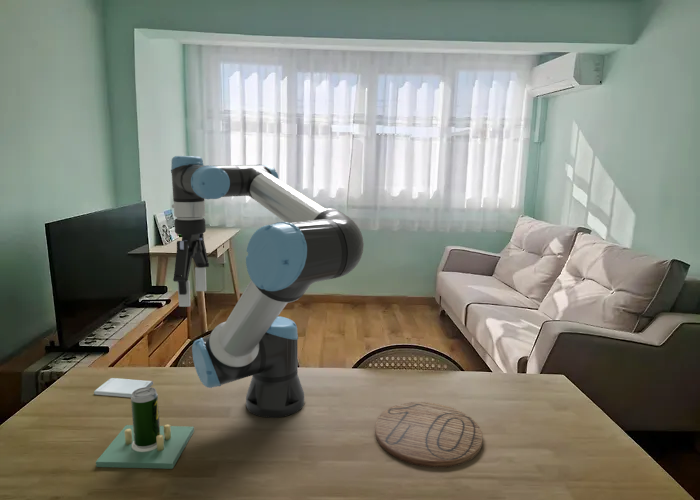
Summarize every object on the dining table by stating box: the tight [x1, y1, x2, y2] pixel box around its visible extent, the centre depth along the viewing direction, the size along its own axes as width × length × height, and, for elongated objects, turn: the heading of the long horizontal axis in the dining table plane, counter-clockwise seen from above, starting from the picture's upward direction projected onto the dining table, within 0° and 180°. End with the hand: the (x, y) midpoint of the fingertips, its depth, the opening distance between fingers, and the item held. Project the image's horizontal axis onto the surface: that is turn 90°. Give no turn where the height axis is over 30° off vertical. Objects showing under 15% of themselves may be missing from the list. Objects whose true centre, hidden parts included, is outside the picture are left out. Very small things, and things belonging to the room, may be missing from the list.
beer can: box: [130, 386, 161, 449], centre depth 109 cm, size 5×5×12 cm
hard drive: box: [93, 377, 154, 398], centre depth 137 cm, size 2×8×12 cm
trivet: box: [374, 401, 483, 468], centre depth 118 cm, size 25×25×2 cm
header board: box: [95, 424, 195, 470], centre depth 110 cm, size 16×14×4 cm
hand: (193, 298), depth 131 cm, fingers open, 13 cm apart
